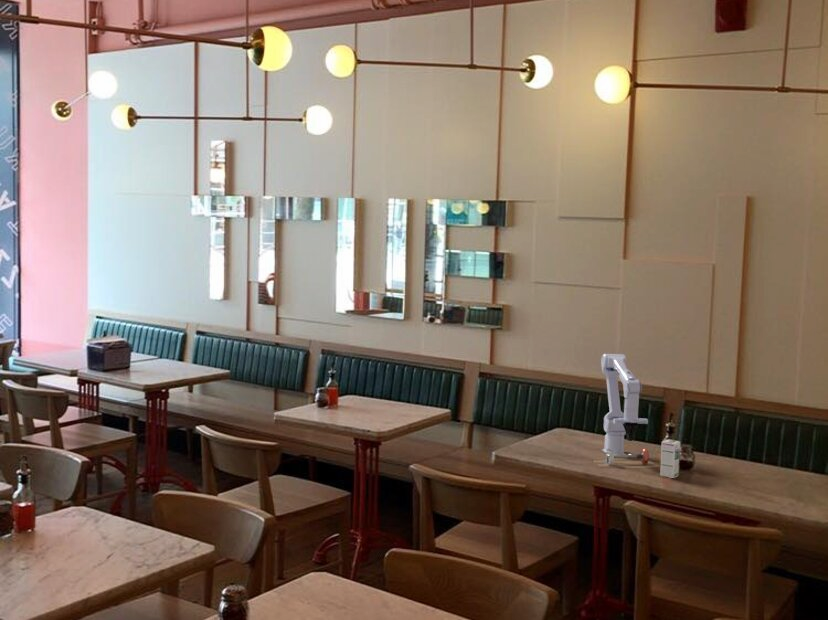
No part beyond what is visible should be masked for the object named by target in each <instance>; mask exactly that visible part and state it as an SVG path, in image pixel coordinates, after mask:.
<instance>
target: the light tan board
mask: <svg viewBox="0 0 828 620" xmlns="http://www.w3.org/2000/svg"><path fill="white" fill-rule="evenodd" d="M604 460H605V459H604ZM604 460H602V459H600V460H597V459H595V460H593V459H592V460H591V461H592V462H594V463H595V464H596V465H598V466H599V467H600V468H601V469H660V467H659V466H658V465H657V464H655V463H654V462H652V461H651V460H649V461H648V463H645V464H643V463H641V460H640V459H630V460H629V459H625V460H624V459H623V460H621V459H614V463H615V464H616V466H608V465H607V464H605V463H604Z"/></svg>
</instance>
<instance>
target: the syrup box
mask: <svg viewBox="0 0 828 620" xmlns="http://www.w3.org/2000/svg"><path fill="white" fill-rule="evenodd" d="M660 448H661V449H660V450H661V451H660V467H659V470H660V473H659V475H660V476H661V477H665V478H666V477H668V478H667V479H671V478H674V479H675V478H677V477H679V476H680V460H681V459H680V457H681V455H680V454H681V441H680V440H675V439H666V440H663V441H661V447H660Z"/></svg>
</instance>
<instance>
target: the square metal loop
mask: <svg viewBox="0 0 828 620" xmlns="http://www.w3.org/2000/svg"><path fill="white" fill-rule="evenodd" d="M606 455H609V458H606V457H605V459H604V463H605V464H607V465H608V466H616V464H615V463H614V460H615V458H614V451H613V450H611V449H606V452H605V456H606Z"/></svg>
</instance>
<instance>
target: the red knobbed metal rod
mask: <svg viewBox="0 0 828 620" xmlns="http://www.w3.org/2000/svg"><path fill="white" fill-rule="evenodd" d="M606 458H609V455H606V454H605V459H606ZM614 459H627V460H629V459H630V460H641V463H643V464H645V463H648V461H650V454H649V450H648V449H647V448H641V449H640V452H639V453H628V454H626V455H614Z"/></svg>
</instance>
